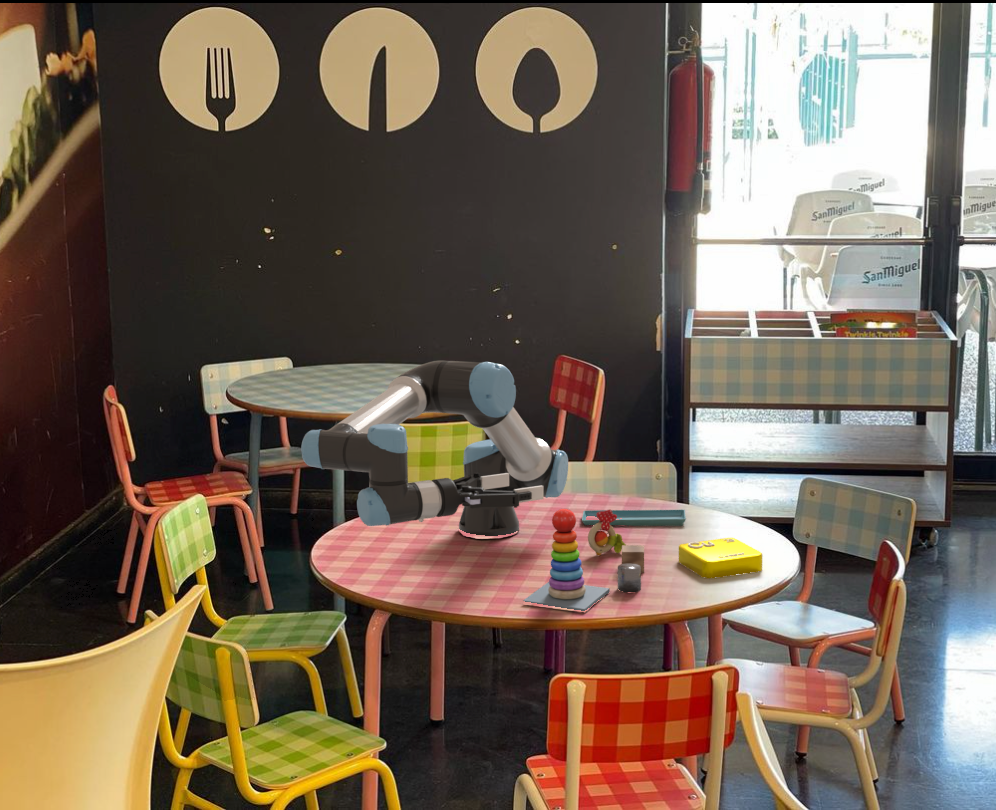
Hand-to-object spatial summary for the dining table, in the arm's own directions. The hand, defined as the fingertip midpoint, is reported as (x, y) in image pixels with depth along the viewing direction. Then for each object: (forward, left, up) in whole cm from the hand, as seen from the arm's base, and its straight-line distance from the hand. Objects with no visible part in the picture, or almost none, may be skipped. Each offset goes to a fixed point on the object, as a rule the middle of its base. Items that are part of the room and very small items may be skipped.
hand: (525, 485), depth 275 cm
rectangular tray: (-2, +68, -27) cm, 73 cm away
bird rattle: (+2, +40, -26) cm, 48 cm away
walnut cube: (+12, +31, -26) cm, 42 cm away
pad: (+6, +7, -26) cm, 28 cm away
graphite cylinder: (+16, +18, -26) cm, 36 cm away
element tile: (+29, +41, -27) cm, 57 cm away
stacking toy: (+6, +7, -25) cm, 27 cm away
